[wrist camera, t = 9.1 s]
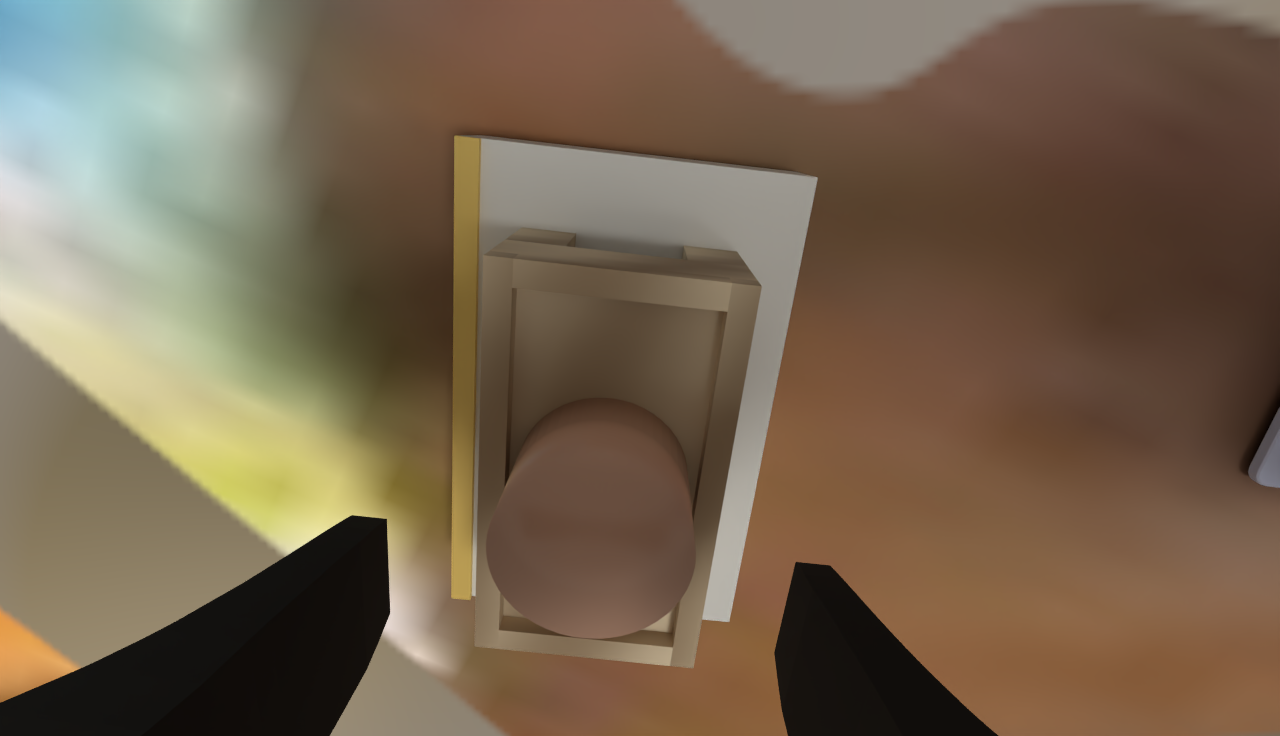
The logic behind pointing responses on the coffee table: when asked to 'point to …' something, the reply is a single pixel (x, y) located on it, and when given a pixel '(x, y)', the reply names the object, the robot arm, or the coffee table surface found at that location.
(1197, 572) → the coffee table surface
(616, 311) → the wooden box
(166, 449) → the coffee table surface
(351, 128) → the coffee table surface
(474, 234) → the dock
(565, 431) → the pink rounded cylinder
